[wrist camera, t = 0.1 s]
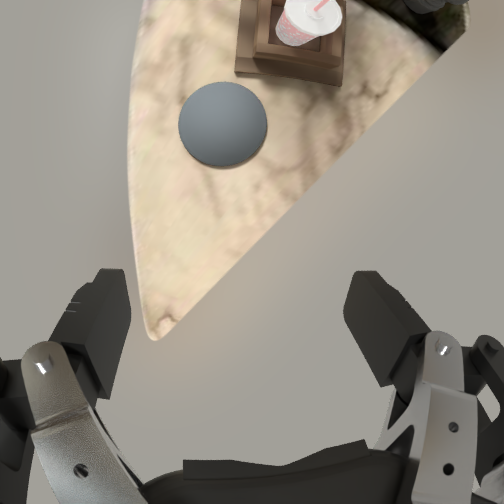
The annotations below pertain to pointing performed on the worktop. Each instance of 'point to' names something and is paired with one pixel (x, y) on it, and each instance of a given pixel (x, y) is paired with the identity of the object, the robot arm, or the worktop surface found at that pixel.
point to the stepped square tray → (286, 48)
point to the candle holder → (429, 4)
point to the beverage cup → (307, 20)
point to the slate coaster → (222, 123)
